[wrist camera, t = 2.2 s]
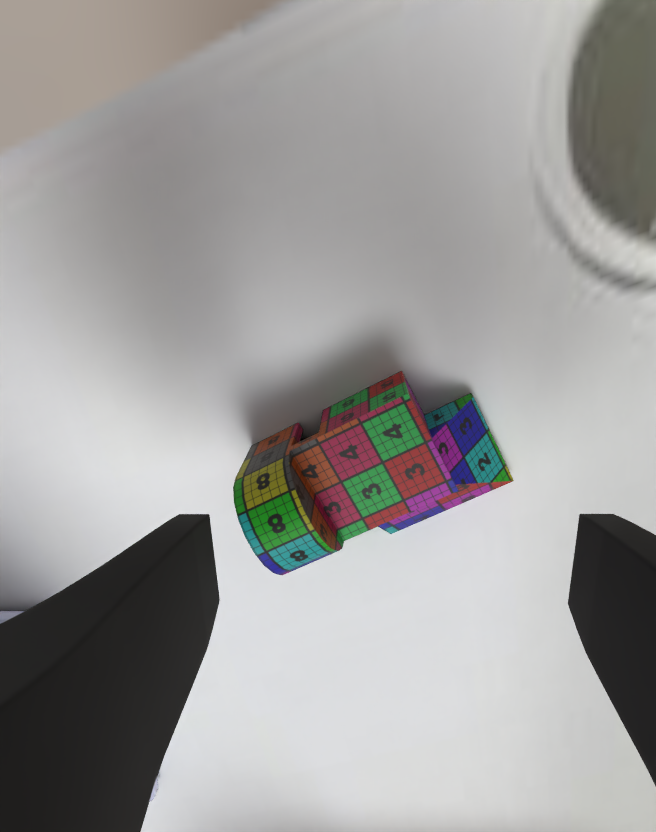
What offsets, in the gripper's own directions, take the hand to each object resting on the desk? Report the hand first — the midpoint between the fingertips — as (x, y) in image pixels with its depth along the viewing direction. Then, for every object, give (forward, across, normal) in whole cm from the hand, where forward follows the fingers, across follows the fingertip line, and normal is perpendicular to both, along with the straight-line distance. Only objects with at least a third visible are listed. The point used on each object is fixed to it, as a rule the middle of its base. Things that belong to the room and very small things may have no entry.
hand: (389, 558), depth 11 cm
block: (+5, 0, 0) cm, 5 cm away
